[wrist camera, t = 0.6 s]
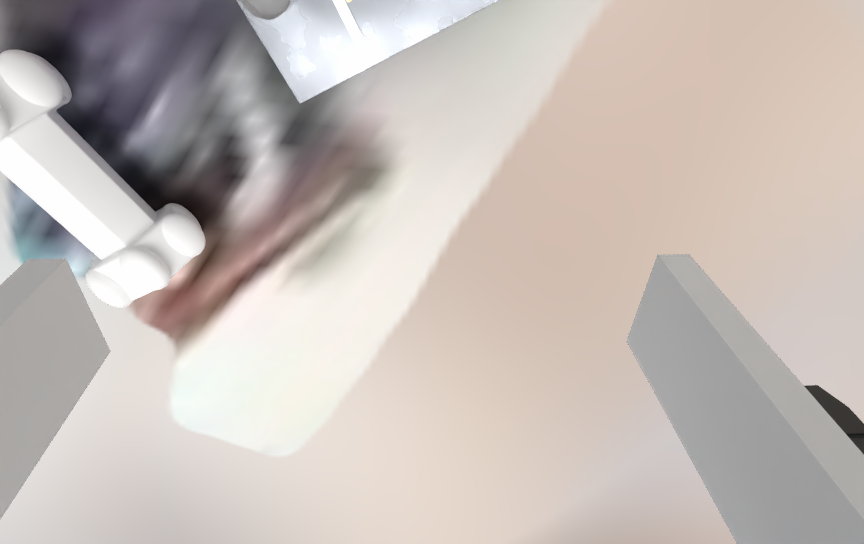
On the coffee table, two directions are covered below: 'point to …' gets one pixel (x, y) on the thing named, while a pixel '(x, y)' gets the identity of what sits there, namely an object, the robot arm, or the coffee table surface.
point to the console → (345, 34)
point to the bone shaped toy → (86, 188)
